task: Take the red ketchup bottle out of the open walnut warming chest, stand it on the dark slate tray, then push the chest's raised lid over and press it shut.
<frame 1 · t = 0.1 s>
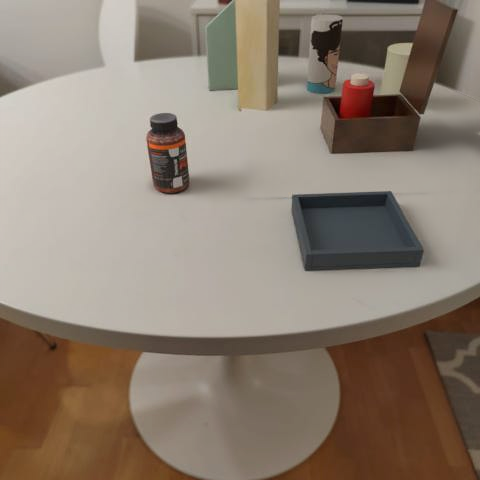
supplement bottle: (172, 186, 75), on the table
chest: (363, 142, 86), on the table
tray: (349, 235, 63), on the table
can: (398, 107, 100), on the table
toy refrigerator: (256, 107, 102), on the table
green magazine holder: (240, 84, 114), on the table
cup: (320, 89, 109), on the table
ketchup bottle: (351, 139, 85), point 1 cm above the table, touching chest
chest lid: (425, 55, 76), point 15 cm above the table, hinge at 95.0°
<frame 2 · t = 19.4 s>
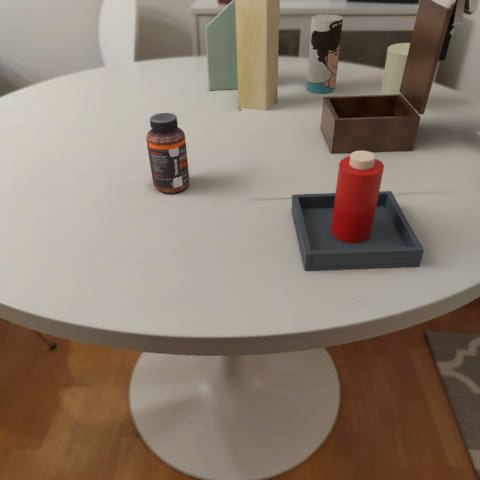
hand: (433, 59, 77), 14 cm above the table, tool pointing down, fingers closed
ketchup bottle: (350, 231, 63), point 1 cm above the table, touching tray
chest lid: (422, 55, 76), point 15 cm above the table, hinge at 91.7°, touching gripper
everything else where it was.
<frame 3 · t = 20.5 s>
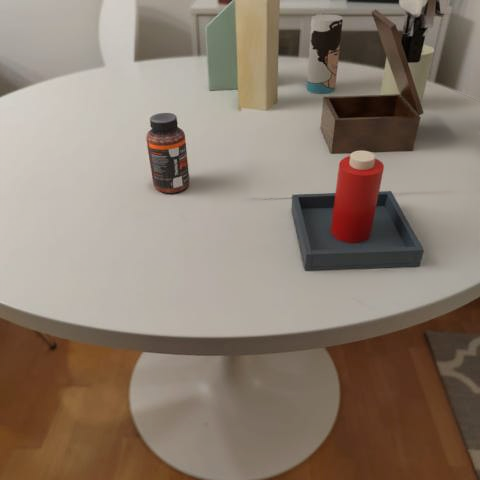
hand: (408, 61, 77), 14 cm above the table, tool pointing down, fingers closed
chest lid: (397, 62, 77), point 14 cm above the table, hinge at 60.8°
everything else where it was.
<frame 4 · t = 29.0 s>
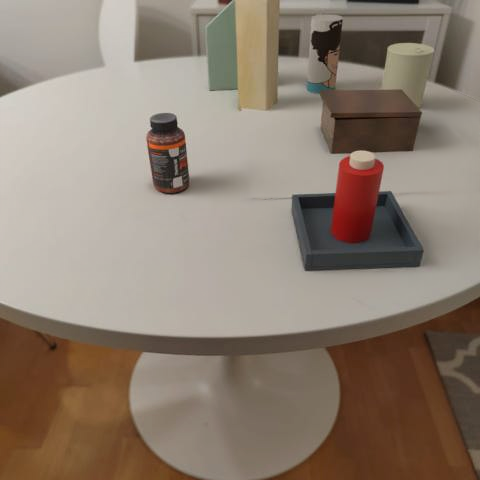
chest lid: (367, 102, 81), point 7 cm above the table, hinge at 1.3°
everything else where it was.
at the end: ketchup bottle inside the target area in the tray (0.0 cm from its centre), point 0.6 cm above the tray's base; ketchup bottle tilted 0°; chest lid at +1° (first picture: +95°) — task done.
